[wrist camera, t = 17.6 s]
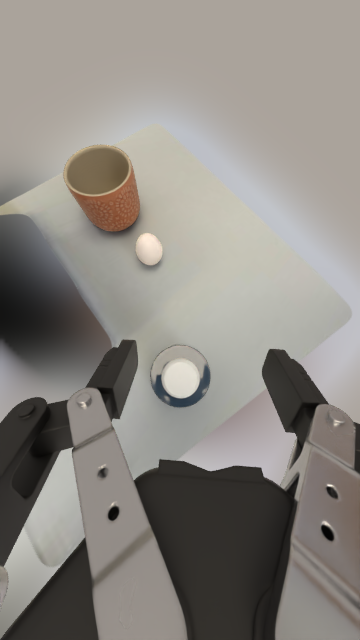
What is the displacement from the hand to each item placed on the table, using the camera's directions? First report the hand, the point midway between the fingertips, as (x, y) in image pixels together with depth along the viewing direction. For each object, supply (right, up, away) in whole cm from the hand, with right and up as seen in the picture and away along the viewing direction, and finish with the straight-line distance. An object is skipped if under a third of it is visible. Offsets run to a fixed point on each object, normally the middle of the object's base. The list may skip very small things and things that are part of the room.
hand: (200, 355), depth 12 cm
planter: (-16, +26, +33) cm, 45 cm away
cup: (-1, -8, +23) cm, 25 cm away
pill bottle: (-1, -6, +15) cm, 16 cm away
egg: (-7, +15, +30) cm, 34 cm away
